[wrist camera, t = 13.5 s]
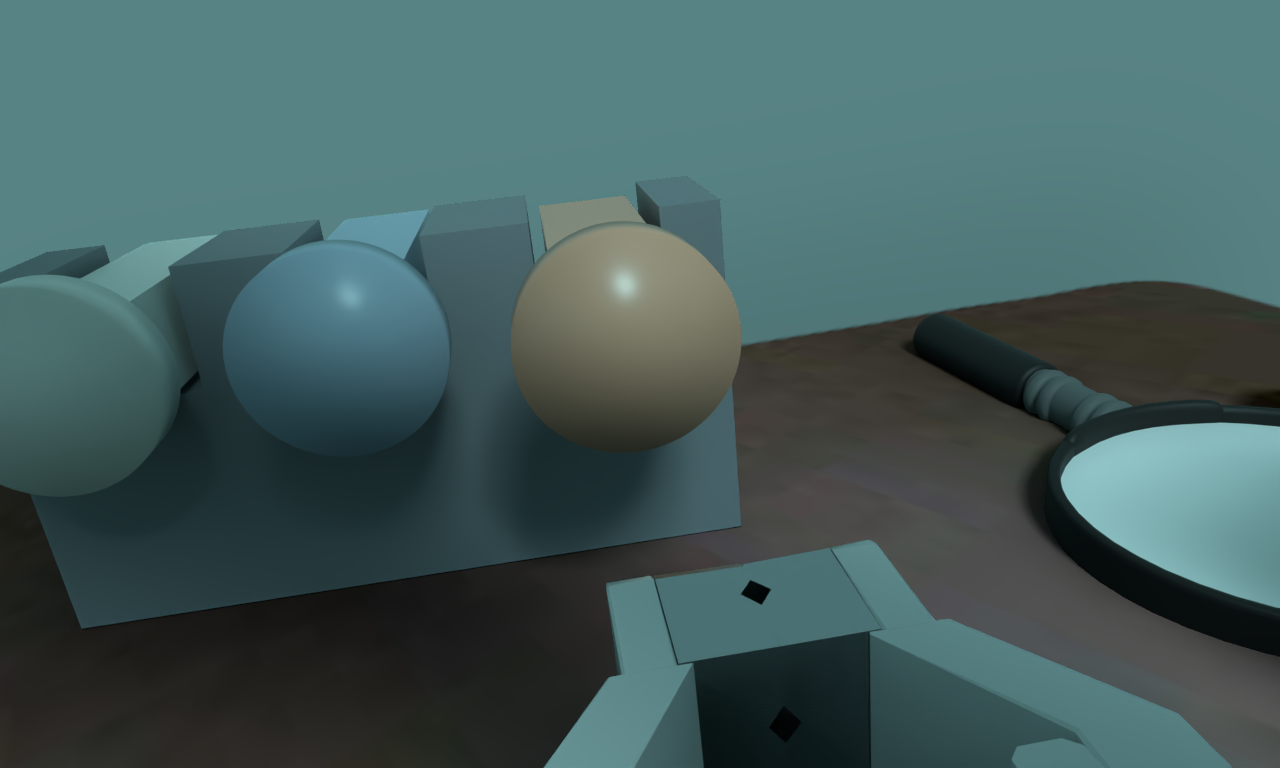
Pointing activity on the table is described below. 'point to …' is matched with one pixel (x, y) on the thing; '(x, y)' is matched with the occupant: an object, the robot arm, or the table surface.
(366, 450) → the key blue
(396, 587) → the table surface
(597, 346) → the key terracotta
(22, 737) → the table surface
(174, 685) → the table surface
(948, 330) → the magnifying glass
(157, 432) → the key white
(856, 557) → the robot arm
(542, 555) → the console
